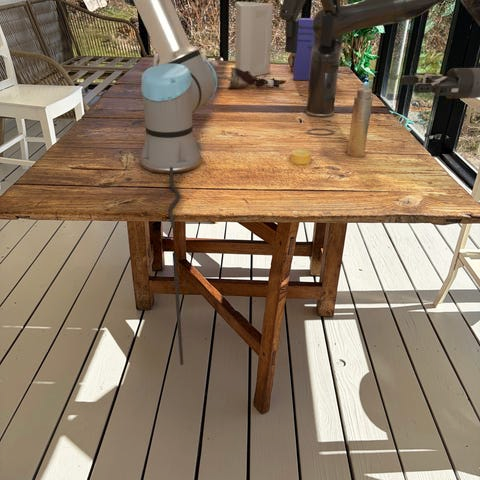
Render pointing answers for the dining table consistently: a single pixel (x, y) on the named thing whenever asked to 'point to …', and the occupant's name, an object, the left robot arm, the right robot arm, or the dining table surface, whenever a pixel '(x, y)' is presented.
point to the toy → (157, 58)
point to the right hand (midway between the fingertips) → (407, 84)
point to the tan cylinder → (360, 122)
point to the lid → (300, 156)
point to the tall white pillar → (253, 37)
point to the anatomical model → (291, 61)
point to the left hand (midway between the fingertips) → (308, 49)
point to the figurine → (248, 80)
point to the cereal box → (303, 49)
